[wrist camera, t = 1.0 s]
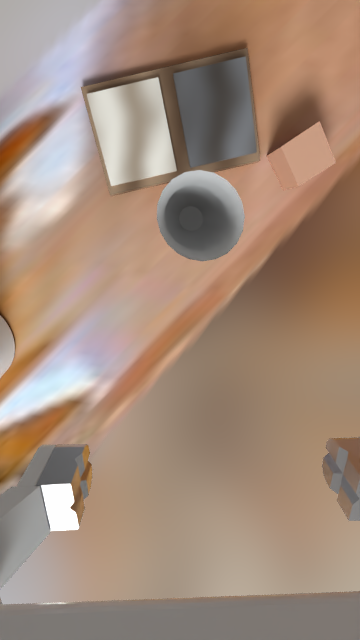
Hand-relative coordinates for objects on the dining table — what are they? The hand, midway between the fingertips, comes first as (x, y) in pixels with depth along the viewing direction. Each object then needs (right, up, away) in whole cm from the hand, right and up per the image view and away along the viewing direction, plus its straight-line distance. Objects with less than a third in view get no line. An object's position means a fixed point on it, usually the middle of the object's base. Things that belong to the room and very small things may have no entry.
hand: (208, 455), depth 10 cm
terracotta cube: (+14, +26, +29) cm, 42 cm away
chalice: (0, +19, +31) cm, 36 cm away
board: (-2, +29, +27) cm, 40 cm away
